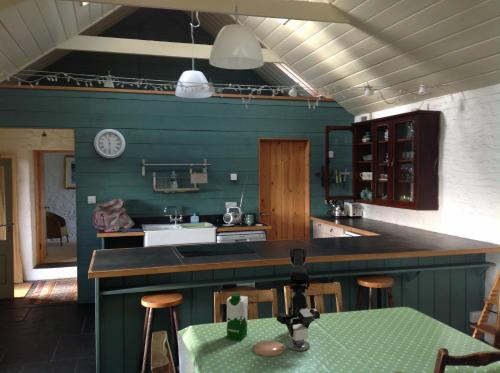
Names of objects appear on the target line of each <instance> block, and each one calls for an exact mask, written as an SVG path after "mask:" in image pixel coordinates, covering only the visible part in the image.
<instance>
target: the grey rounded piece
mask: <svg viewBox="0 0 500 373" xmlns="http://www.w3.org/2000/svg"><path fill="white" fill-rule="evenodd" d="M285 345H286V349H288V350H289V351H294V352H307V351H309V350H310V348H311V343H310V342H308V341H307V340H305V339H303V340H297V341H295V340H294V339H293V338H291V340H288V341H287V342H286V344H285Z"/></svg>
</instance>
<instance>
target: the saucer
mask: <svg viewBox="0 0 500 373" xmlns="http://www.w3.org/2000/svg"><path fill="white" fill-rule="evenodd" d="M285 349H286V348H285V345H284V344H282V343H281V342H278V341H275V340H262V341H258V342H256V343H255V344H254V345H253V352H254V353H255V354H257V355H259V356H262V357H269V358H271V357H272V358H273V357H279V356H281V355H283V354H284V353H285Z"/></svg>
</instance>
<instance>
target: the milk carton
mask: <svg viewBox="0 0 500 373" xmlns="http://www.w3.org/2000/svg"><path fill="white" fill-rule="evenodd" d="M248 299H249V296H245V295H241V294H240V293H232V294H231V296H229V297H228V298H227V299H226V339H227V340H233V341H237V342H242V341H243V340H244V339H246V337H247V336H248V304H249V302H248V301H249V300H248Z"/></svg>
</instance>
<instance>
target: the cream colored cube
mask: <svg viewBox="0 0 500 373" xmlns="http://www.w3.org/2000/svg"><path fill="white" fill-rule="evenodd" d="M288 337H290V338H291V339H292V338H293V339H294V340H295V341H297V340H303V339H304V340H308V339H309V327H308V328H306V327H305V326H303V325H302V324H297V325H293V337H291V336H290V333H289V332H288Z"/></svg>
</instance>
